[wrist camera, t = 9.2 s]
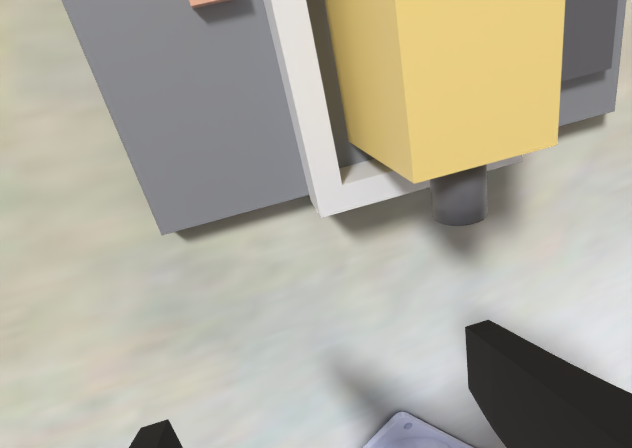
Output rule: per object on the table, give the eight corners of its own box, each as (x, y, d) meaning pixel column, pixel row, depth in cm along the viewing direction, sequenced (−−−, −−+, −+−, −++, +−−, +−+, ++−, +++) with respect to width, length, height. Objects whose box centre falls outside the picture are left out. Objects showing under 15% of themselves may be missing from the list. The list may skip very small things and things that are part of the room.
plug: (432, -43, 13) (572, -120, 8) (446, 164, 16) (553, 214, 11) (321, -20, 13) (386, -83, 7) (356, 188, 16) (421, 252, 10)
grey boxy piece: (617, -147, 14) (709, -198, 11) (594, 114, 18) (659, 122, 15) (57, -35, 12) (6, -64, 9) (168, 230, 16) (154, 264, 13)
